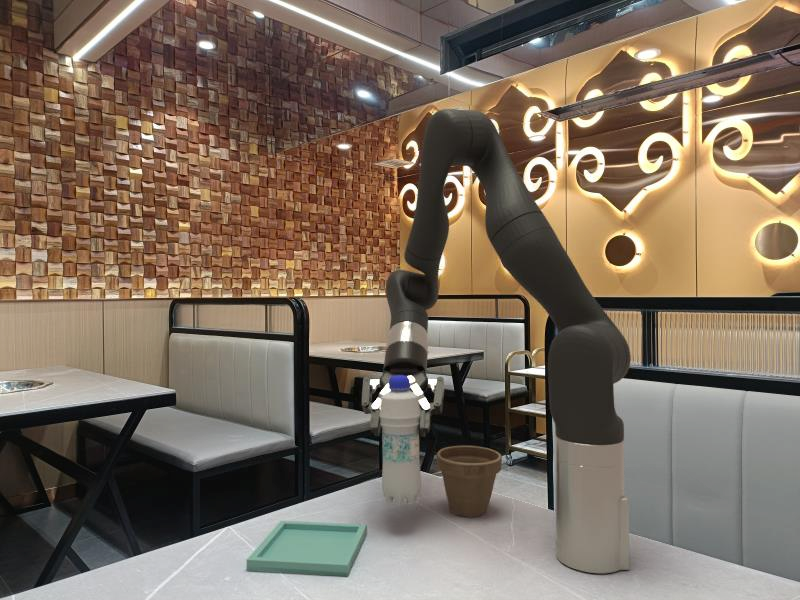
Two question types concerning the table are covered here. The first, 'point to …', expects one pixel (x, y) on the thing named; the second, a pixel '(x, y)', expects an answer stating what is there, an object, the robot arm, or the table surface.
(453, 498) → the flower pot
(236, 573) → the table surface
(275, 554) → the tray
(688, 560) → the table surface
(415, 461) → the bottle
